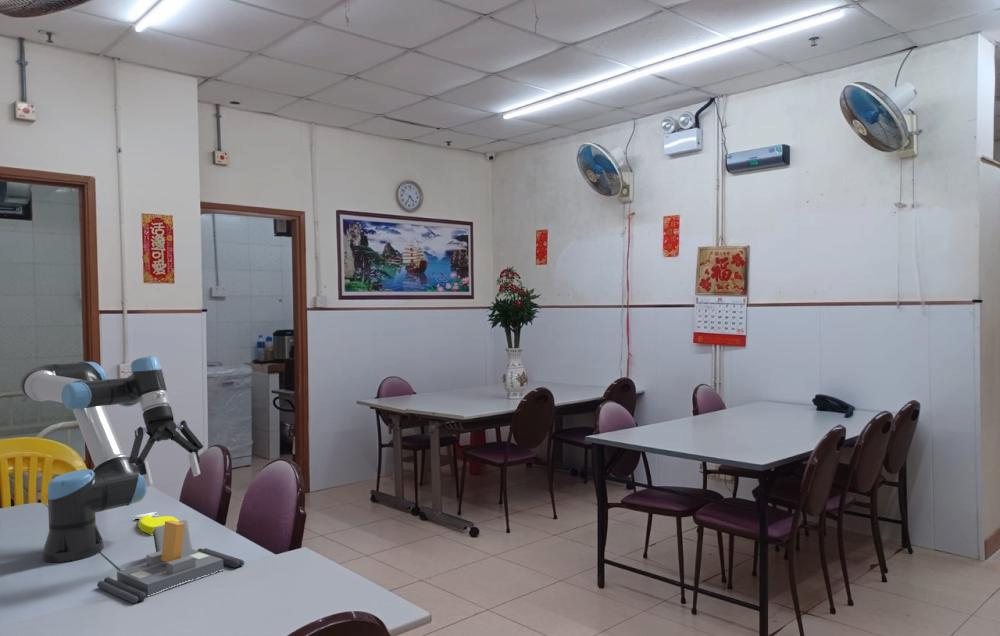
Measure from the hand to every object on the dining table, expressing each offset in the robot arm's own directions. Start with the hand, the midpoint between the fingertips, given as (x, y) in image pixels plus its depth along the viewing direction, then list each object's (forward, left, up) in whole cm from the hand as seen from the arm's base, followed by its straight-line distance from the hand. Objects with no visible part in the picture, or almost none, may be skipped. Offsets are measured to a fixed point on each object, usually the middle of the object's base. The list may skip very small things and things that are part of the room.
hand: (174, 480), depth 193 cm
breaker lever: (+11, -8, -18) cm, 23 cm away
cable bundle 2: (+11, +5, -22) cm, 26 cm away
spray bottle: (-40, +14, -23) cm, 48 cm away
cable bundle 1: (+11, -20, -22) cm, 32 cm away
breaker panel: (+11, -8, -22) cm, 26 cm away
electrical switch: (-6, +1, -23) cm, 23 cm away
